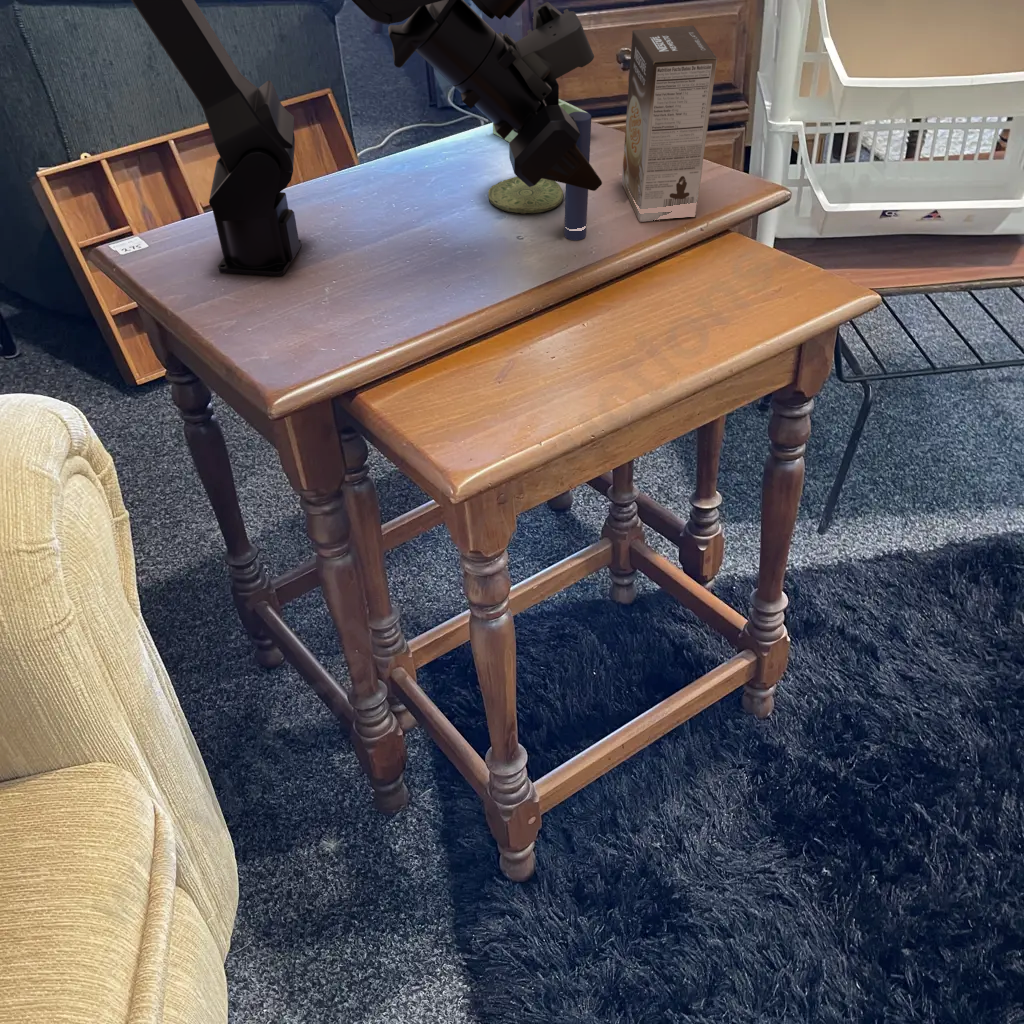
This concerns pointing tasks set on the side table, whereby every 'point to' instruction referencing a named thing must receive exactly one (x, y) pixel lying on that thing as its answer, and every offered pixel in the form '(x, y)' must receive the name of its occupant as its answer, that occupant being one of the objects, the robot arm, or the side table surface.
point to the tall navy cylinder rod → (575, 195)
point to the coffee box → (666, 117)
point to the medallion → (525, 196)
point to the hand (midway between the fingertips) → (591, 171)
